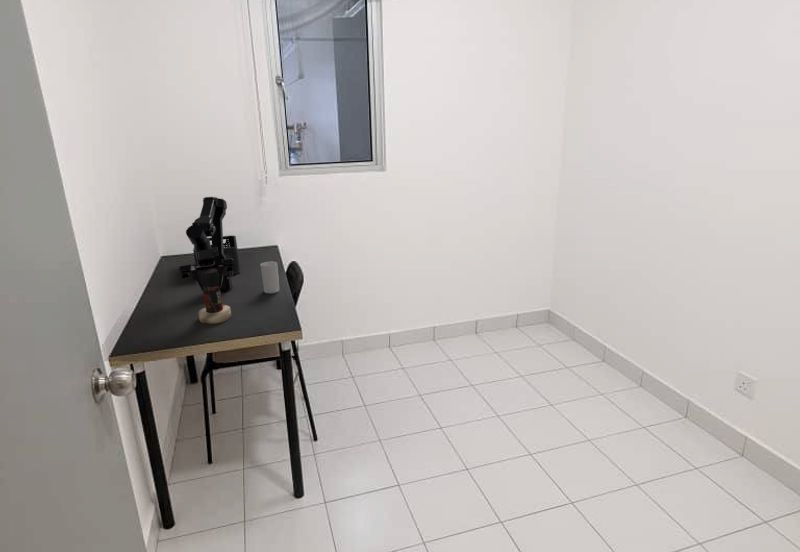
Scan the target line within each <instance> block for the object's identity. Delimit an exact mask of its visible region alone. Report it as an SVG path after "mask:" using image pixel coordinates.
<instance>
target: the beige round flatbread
mask: <svg viewBox="0 0 800 552" xmlns="http://www.w3.org/2000/svg"><path fill="white" fill-rule="evenodd" d="M198 317H199V321H200V323H202V324H205V323H207V324H206V325H209V324H210V325H211V324H212V325H213V324H219V323H223V322H225V321H227V320H229V319H231V318H230V317H232V311H231V307H230V306H229V305H227V304H223V310H222V311H220V312H216V313H207V312H206V308H205V307H203V308H201V309H200V310H199V311H198Z"/></svg>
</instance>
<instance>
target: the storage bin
mask: <svg viewBox="0 0 800 552" xmlns="http://www.w3.org/2000/svg"><path fill="white" fill-rule="evenodd" d="M236 237H237V236H236V235H224V236H223V240H225V242H223V252H224V255H225V257H226V258H227V259H228V258H232V259H233V260H234V271H232V272H233V275H237V274H239V273H241V264H240V263H241V262H240V259H239V258H240V257H239V251H238V242H237V238H236ZM208 238H209V240H210V242H212V237H208ZM211 249H212V244H211ZM192 251H193V257H194V264H195V267H197V266H198V262H197V257H196V253H195V248H194V247H193V248H192ZM227 273H228V272H227ZM198 275H199V278H200V279H201V277H200V272H198Z"/></svg>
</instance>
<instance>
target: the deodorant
mask: <svg viewBox="0 0 800 552" xmlns="http://www.w3.org/2000/svg"><path fill="white" fill-rule="evenodd" d="M200 277H201V278H200V281H201V284H202V288H203V291H202V294H203V300H204V308H206V312H207V313H216V312H220V311H222V310H223V305H224V304H223V299H222V292H221V291H220V285H219V278H218V271H217V269H213V268H211V269H204V270H201V271H200Z"/></svg>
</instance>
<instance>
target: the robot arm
mask: <svg viewBox="0 0 800 552" xmlns="http://www.w3.org/2000/svg"><path fill="white" fill-rule="evenodd" d="M227 203H228V202H227V201H226V200H225V199H223V198H218V197H216V196H205V197H203V198H202V207H201V211H200V215H199V217H198V218H196V219H195V220H194V222H192V225H190V226H189V227H187V229H186V231H185V235H186V236H187V238H188V240H189V241H190V243H191V244H192V245H193V249H194V248H195V253H196V257H197V262H198V266H197V267H196V265H191V263H188V264H181V265H179V266H178V271H179V276H180V279H182V280H183V279H189V280H192V281H193V282H195V284H196V285H197V287H198V288H199V289H200V290H201V291H202V292H203V288H202V283H201V278H199V275H198V272H200V271H201V270H204V269H211V268H213V269H217V271H218V278H219V285H220V291H221V293H227V292H229V291H231V289H233V288H234V286H233V282H232V278H231V277H233V275H234V274H233V272H232V271H234V260H233V259H232V258H228V259H227V258H226V257H225V255H224V254H225V253H224V252H225V251H224V252H223V243H224V239H223V235H224V234H223V219H224V218H225V216H226V215H227V213H226V212H227V210H228V205H227ZM209 238H212V241H210V240H209ZM211 245H212V249H211ZM227 272H228V273H227Z"/></svg>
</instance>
